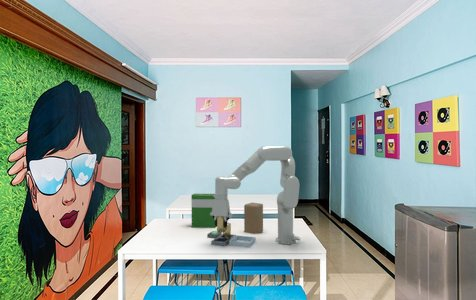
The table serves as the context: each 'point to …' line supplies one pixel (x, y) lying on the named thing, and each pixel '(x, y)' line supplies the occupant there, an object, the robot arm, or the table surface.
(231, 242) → the tray
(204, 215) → the hardback book
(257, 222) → the wooden block
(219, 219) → the billet
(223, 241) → the metal compartment tray
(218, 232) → the grey button housing
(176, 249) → the table surface
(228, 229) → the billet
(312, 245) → the table surface
